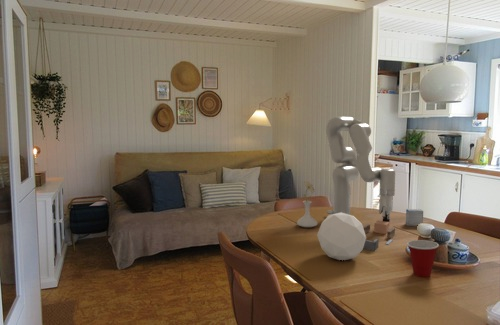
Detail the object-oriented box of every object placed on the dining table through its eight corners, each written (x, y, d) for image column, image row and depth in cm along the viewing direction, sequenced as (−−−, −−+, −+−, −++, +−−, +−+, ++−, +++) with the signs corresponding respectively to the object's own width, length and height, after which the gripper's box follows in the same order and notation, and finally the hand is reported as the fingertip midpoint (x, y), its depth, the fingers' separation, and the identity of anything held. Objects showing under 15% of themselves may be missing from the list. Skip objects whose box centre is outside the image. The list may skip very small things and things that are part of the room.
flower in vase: (319, 229, 198) (319, 182, 196) (297, 229, 199) (298, 182, 196) (315, 222, 211) (316, 179, 209) (295, 222, 212) (295, 179, 209)
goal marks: (352, 238, 183) (352, 237, 183) (357, 234, 189) (357, 233, 189) (388, 244, 173) (388, 244, 173) (392, 240, 179) (392, 239, 179)
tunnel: (361, 234, 189) (362, 227, 189) (367, 230, 196) (367, 223, 196) (390, 238, 181) (390, 231, 181) (394, 234, 188) (394, 228, 187)
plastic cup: (410, 266, 147) (411, 236, 146) (440, 273, 140) (442, 242, 139) (401, 275, 139) (402, 243, 137) (433, 282, 132) (434, 249, 130)
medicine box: (420, 224, 208) (420, 208, 207) (423, 226, 203) (423, 210, 202) (405, 223, 208) (406, 208, 207) (408, 226, 204) (408, 210, 203)
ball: (327, 272, 158) (303, 231, 164) (364, 250, 164) (339, 211, 170) (343, 266, 141) (315, 219, 147) (383, 242, 147) (355, 198, 153)
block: (374, 232, 193) (374, 223, 192) (377, 229, 198) (377, 220, 197) (386, 234, 189) (386, 224, 189) (389, 231, 194) (389, 222, 194)
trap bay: (347, 246, 171) (348, 237, 171) (352, 242, 176) (352, 234, 175) (374, 251, 164) (374, 242, 164) (378, 247, 169) (378, 238, 169)
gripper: (383, 189, 206) (382, 221, 208) (375, 193, 193) (374, 228, 195) (397, 190, 201) (396, 224, 203) (390, 195, 189) (389, 230, 191)
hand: (385, 225), depth 199 cm, fingers closed
